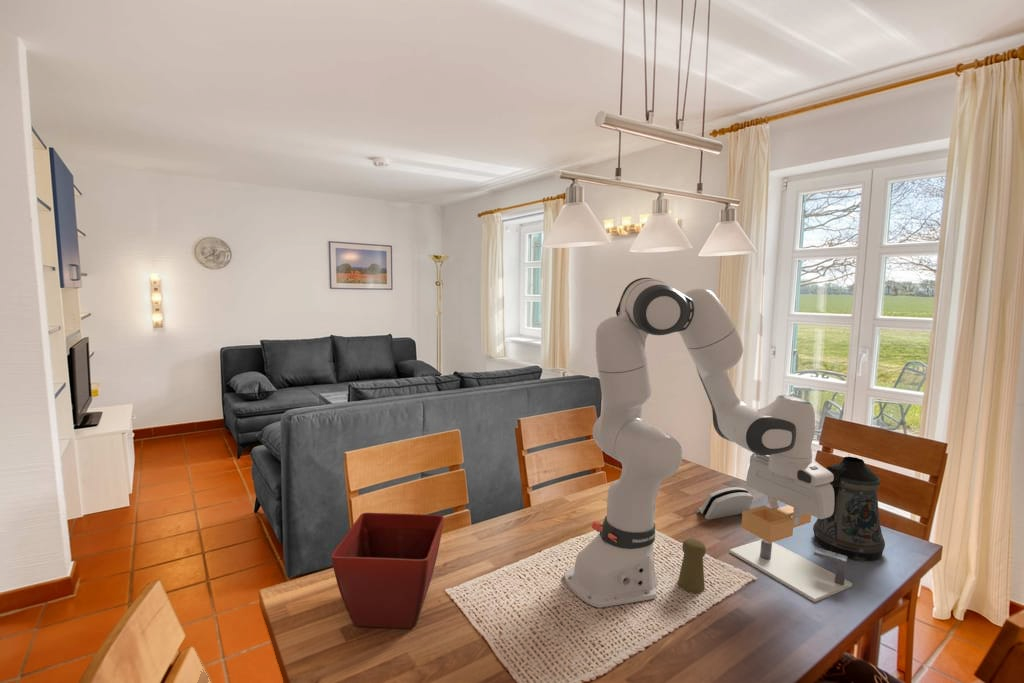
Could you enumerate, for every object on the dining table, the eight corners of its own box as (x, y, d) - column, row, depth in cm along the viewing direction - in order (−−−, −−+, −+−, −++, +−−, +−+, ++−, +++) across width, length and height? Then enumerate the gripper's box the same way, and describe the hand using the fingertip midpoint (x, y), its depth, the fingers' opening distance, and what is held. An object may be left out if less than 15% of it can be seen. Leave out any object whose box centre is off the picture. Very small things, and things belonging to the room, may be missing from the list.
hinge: (736, 505, 162) (747, 481, 157) (747, 516, 158) (758, 492, 153) (695, 512, 156) (705, 488, 152) (705, 523, 152) (715, 499, 148)
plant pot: (362, 579, 116) (362, 511, 114) (443, 583, 115) (444, 514, 114) (330, 637, 97) (329, 556, 95) (427, 642, 96) (427, 560, 95)
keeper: (811, 578, 122) (813, 551, 121) (812, 572, 124) (815, 546, 123) (843, 588, 118) (846, 561, 117) (844, 583, 120) (847, 556, 119)
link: (770, 543, 111) (771, 526, 110) (741, 527, 118) (742, 511, 117) (820, 526, 118) (821, 510, 118) (790, 512, 125) (791, 497, 125)
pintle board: (814, 602, 112) (816, 581, 112) (729, 552, 133) (731, 534, 132) (851, 586, 119) (854, 566, 118) (765, 540, 139) (766, 524, 139)
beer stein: (891, 549, 136) (902, 462, 134) (868, 573, 124) (879, 478, 122) (825, 525, 149) (833, 445, 146) (797, 545, 137) (806, 458, 134)
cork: (672, 580, 119) (675, 537, 118) (691, 575, 121) (694, 533, 120) (690, 595, 113) (693, 550, 112) (710, 589, 116) (714, 545, 115)
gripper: (742, 451, 125) (738, 504, 126) (823, 482, 106) (817, 542, 108) (759, 448, 127) (755, 499, 129) (841, 477, 109) (835, 536, 111)
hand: (784, 519), depth 118 cm, fingers closed on link, 3 cm apart
